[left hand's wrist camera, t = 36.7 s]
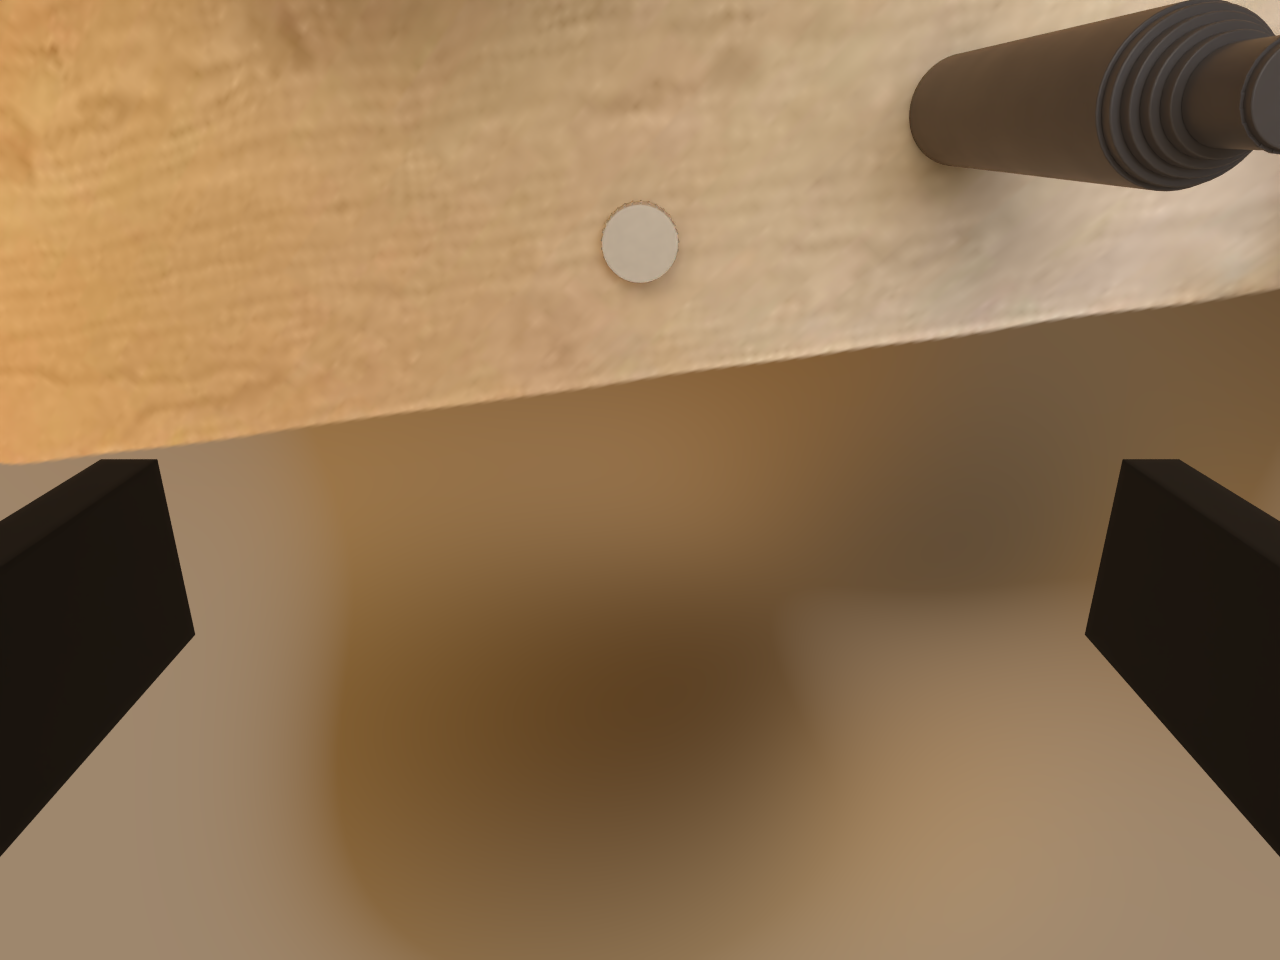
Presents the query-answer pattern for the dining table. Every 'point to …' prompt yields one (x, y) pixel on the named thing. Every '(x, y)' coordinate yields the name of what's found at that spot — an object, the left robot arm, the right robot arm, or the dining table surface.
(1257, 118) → the bottle
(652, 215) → the cap
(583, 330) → the dining table surface
